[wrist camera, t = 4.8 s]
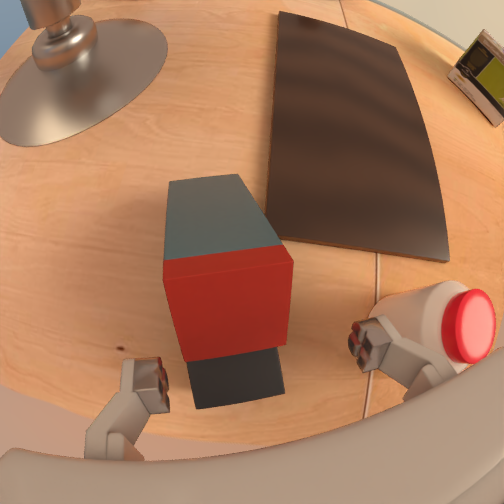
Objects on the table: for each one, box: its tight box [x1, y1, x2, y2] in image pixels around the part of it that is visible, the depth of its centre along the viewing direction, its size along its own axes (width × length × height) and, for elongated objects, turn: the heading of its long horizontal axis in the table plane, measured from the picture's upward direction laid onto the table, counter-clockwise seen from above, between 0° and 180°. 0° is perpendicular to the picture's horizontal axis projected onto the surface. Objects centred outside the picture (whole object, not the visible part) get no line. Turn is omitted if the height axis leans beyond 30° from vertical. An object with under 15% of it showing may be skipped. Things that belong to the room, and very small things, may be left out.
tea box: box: [447, 29, 504, 127], centre depth 35 cm, size 15×10×15 cm, turn 48°
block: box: [186, 347, 285, 409], centre depth 21 cm, size 7×6×6 cm
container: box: [163, 174, 294, 362], centre depth 19 cm, size 13×6×13 cm, turn 10°
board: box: [265, 11, 450, 263], centre depth 33 cm, size 40×22×1 cm, turn 175°
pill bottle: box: [368, 280, 496, 374], centre depth 21 cm, size 8×8×11 cm
